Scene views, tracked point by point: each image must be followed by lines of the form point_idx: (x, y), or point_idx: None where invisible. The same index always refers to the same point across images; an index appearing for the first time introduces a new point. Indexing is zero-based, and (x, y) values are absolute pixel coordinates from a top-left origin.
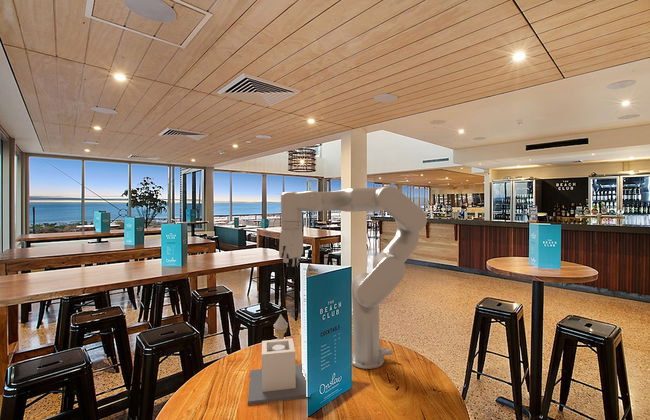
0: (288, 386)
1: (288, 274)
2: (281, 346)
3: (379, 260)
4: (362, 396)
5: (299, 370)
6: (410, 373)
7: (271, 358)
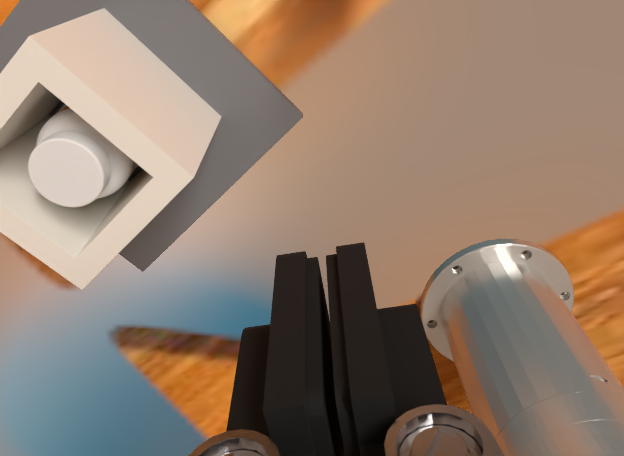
0: None
1: (279, 292)
2: (83, 182)
3: None
4: None
5: (247, 135)
6: None
7: None
